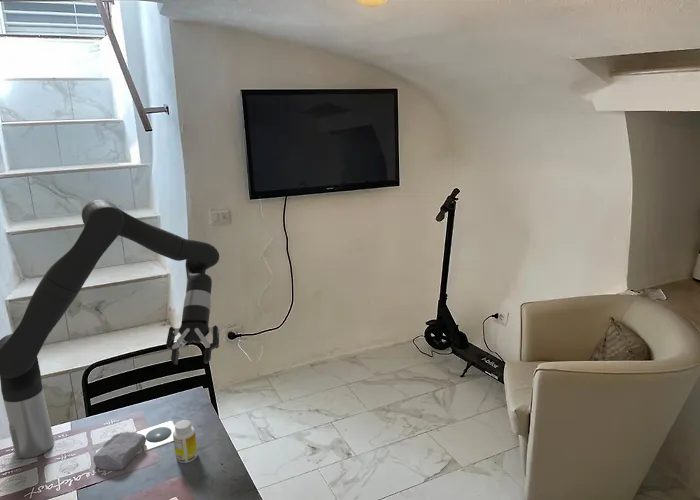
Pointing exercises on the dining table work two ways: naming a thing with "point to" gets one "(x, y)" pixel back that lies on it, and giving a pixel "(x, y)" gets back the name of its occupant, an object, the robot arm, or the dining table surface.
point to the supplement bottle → (185, 441)
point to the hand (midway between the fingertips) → (190, 363)
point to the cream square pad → (158, 435)
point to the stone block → (119, 451)
